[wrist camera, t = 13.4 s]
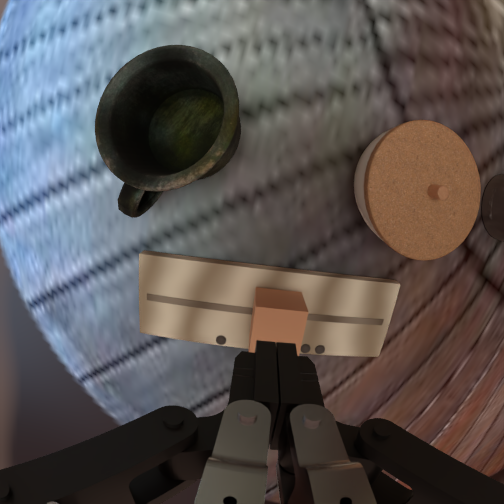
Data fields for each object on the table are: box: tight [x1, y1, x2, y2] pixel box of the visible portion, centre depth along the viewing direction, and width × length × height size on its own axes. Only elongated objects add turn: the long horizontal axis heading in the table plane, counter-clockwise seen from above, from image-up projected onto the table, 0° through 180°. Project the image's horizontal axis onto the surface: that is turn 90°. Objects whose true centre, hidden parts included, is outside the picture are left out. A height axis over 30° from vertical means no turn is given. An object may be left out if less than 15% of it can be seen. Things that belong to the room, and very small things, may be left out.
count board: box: [139, 250, 400, 357], centre depth 35 cm, size 30×10×2 cm, turn 83°
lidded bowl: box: [354, 120, 480, 261], centre depth 27 cm, size 13×13×11 cm
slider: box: [248, 287, 308, 356], centre depth 32 cm, size 5×6×5 cm
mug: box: [95, 45, 241, 217], centre depth 26 cm, size 11×15×12 cm
